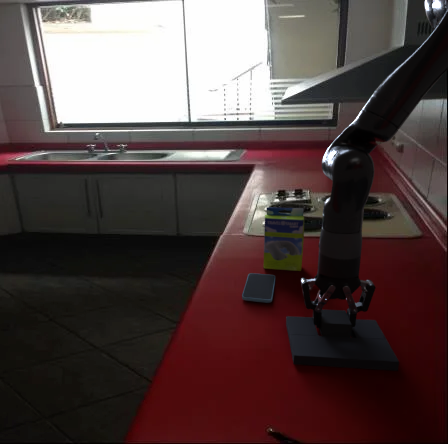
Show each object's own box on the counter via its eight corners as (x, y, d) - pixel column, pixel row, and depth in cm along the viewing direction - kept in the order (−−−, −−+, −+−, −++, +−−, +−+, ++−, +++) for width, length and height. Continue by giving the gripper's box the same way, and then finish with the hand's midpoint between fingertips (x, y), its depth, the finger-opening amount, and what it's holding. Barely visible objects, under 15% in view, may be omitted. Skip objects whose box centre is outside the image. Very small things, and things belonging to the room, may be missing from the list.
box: (263, 269, 119) (264, 211, 113) (264, 263, 122) (265, 206, 117) (302, 272, 115) (305, 212, 110) (302, 266, 119) (304, 207, 114)
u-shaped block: (374, 328, 88) (375, 319, 87) (398, 371, 75) (399, 361, 74) (285, 324, 91) (286, 316, 91) (293, 364, 78) (294, 355, 78)
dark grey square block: (344, 322, 88) (345, 310, 87) (350, 337, 83) (351, 324, 82) (316, 321, 89) (317, 309, 88) (321, 336, 84) (322, 323, 83)
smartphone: (275, 275, 112) (272, 300, 99) (275, 278, 113) (271, 304, 99) (248, 272, 115) (241, 297, 101) (248, 276, 115) (241, 301, 101)
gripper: (303, 257, 78) (299, 335, 83) (386, 258, 76) (376, 339, 81) (298, 242, 85) (294, 315, 90) (374, 243, 83) (365, 318, 88)
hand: (333, 326), depth 86 cm, fingers closed on dark grey square block, 5 cm apart
